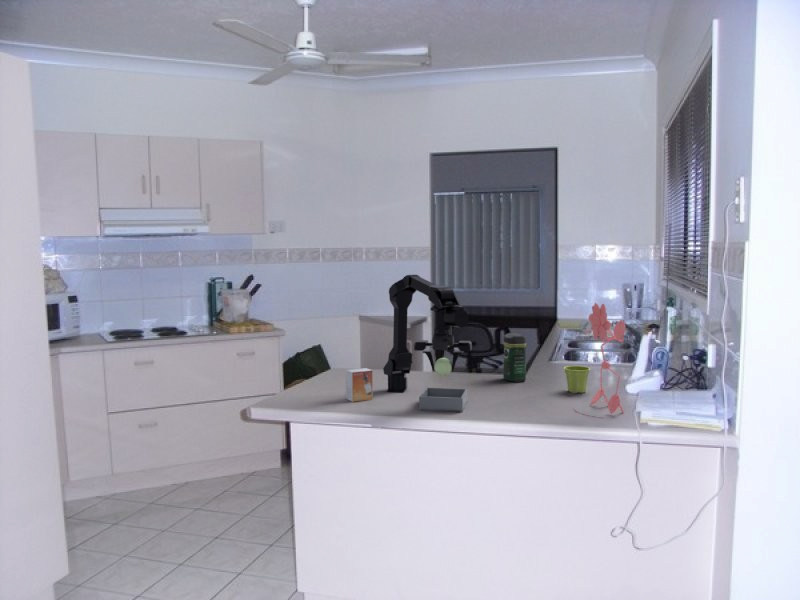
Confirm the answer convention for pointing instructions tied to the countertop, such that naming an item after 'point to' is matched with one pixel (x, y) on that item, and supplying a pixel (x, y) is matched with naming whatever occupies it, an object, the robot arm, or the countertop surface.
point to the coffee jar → (514, 357)
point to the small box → (359, 384)
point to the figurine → (599, 328)
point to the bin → (443, 399)
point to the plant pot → (577, 378)
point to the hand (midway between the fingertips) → (443, 371)
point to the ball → (443, 366)
